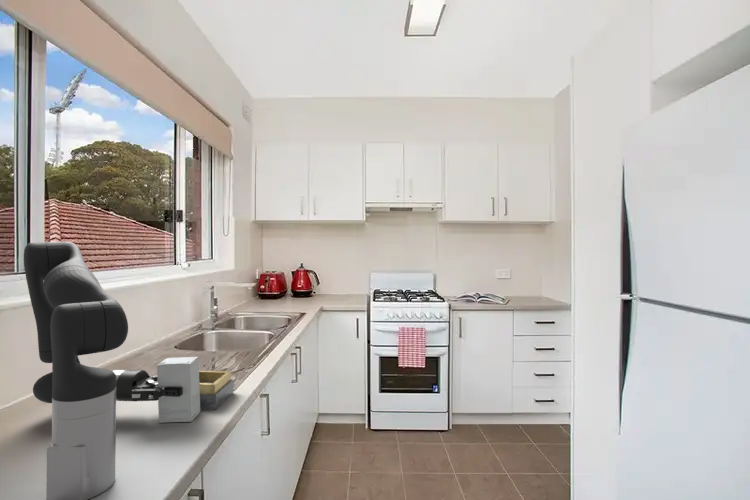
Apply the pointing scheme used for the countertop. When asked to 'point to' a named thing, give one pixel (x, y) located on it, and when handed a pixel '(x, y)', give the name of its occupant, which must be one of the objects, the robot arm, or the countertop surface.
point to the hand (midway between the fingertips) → (188, 386)
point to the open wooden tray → (214, 388)
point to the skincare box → (179, 375)
